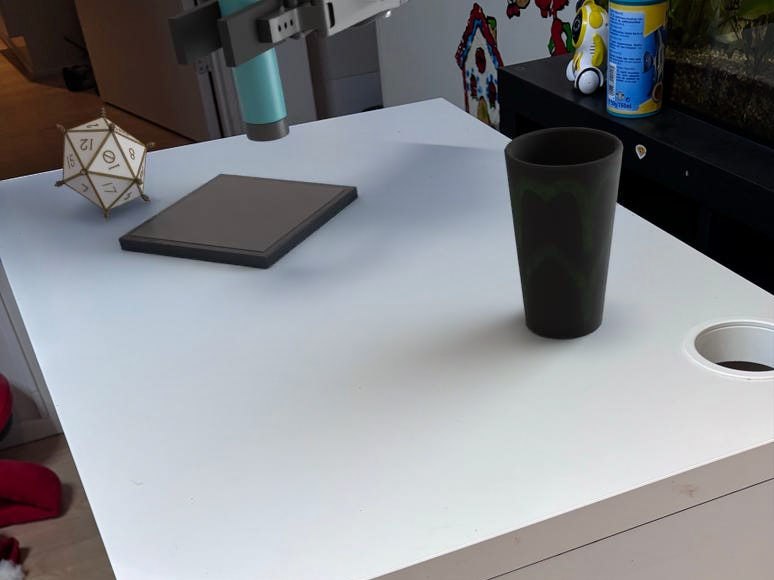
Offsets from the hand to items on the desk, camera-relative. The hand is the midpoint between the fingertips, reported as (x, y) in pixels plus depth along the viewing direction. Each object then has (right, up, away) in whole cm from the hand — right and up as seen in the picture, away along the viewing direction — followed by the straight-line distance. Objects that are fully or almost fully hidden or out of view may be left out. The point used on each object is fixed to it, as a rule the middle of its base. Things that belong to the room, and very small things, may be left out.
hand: (202, 42), depth 67 cm
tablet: (-3, -2, +24) cm, 25 cm away
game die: (-16, +1, +29) cm, 33 cm away
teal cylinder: (+3, -2, +9) cm, 9 cm away
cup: (+24, -16, +7) cm, 30 cm away
